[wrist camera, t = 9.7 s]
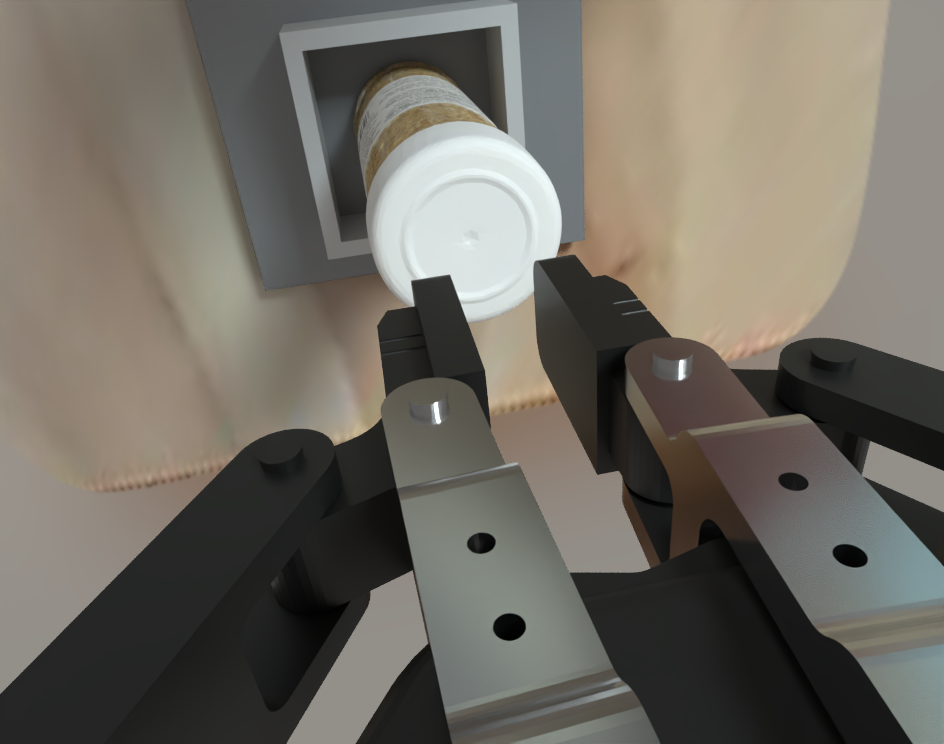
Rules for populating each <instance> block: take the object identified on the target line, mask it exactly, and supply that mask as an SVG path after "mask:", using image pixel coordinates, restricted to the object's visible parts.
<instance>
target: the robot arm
mask: <svg viewBox="0 0 944 744" xmlns="http://www.w3.org/2000/svg"><path fill="white" fill-rule="evenodd" d="M533 281H534V299H535V316H536V334H537V344H538V350H539V355H540V359H541V362H542V365H543V368H544V370H545V372H546V374H547V376H548V378H549V380H550V382H551V384H552V386H553V388H554V390H555V392H556V394H557V396H558V398H559V400H560V402H561V404H562V406H563V407H564V409H565V411H566V413H567V415H568V417H569V419H570V421H571V423H572V425H573V427H574V429H575V431H576V433H577V435H578V437H579V439H580V441H581V443H582V445H583V447H584V449H585V451H586V453H587V455H588V457H589V459H590V461H591V463H592V465H593V467H594V469H595V471H596V473H597V474H598V475H599V474H604V473H608V472H614V471H619V472H620V473H621V475H622V479H623V480H622V481H623V482H622V502H623V505H624V508H625V510H626V513H627V515H628V517H629V519H630V522H631V524H632V526H633V529H634V531H635V533H636V536H637V538H638V540H639V542H640V545H641V547H642V549H643V552H644V554H645V556H646V558H647V561H648V563H649V566H650V569H648V570H646V571H642V572H636V573H569V571H568V569H567V567H566V564H565V562H564V560H563V558H562V556H561V553H560V551H559V549H558V547H557V545H556V543H555V540H554V539H553V536H552V534H551V532H550V530H549V527H548V525H547V523H546V521H545V519H544V517H543V515H542V512H541V510H540V508H539V506H538V504H537V501H536V499H535V497H534V495H533V493H532V491H531V488H530V486H529V484H528V482H527V480H526V478H525V476H524V473H523V471H522V469H521V467H520V466H519V464H518V463H517V462H512V463H508V464H505V461H504V459H503V457H502V454H501V452H500V450H499V448H498V445H497V443H496V441H495V438H494V436H493V434H492V431H491V425H490V415H489V406H488V396H487V386H486V376H485V369H484V367H483V364H482V361H481V358H480V356H479V353H478V350H477V347H476V345H475V342H474V339H473V336H472V334H471V331H470V328H469V325H468V323H467V320H466V317H465V314H464V312H463V309H462V306H461V303H460V301H459V298H458V295H457V292H456V290H455V287H454V284H453V281H452V279H451V276H450V274H449V275H443V276H436V277H430V278H424V279H418V280H411V286H412V293H413V300H414V307H408V308H402V309H396V310H390V311H387V312H386V313H385V315H384V316H383V318H382V319H381V321H380V322H379V324H378V325H377V328H378V336H379V343H380V352H381V360H382V368H383V376H384V384H385V392H386V398H385V399H384V401H383V403H382V406H381V416H382V418H381V419H380V420H379V422H378V423H377V424H375V425H374V426H373V427H372V428H371V429H369V430H368V431H367V432H365V433H363V434H361V435H360V436H358V437H356V438H353V439H351V440H349V441H346V442H344V443H341V444H339V445H336V446H334V445H333V443H332V441H331V440H330V439H329V437H327V436H326V435H324V434H323V433H320V432H318V431H314V430H310V429H290V430H283V431H279V432H275V433H272V434H269V435H267V436H264V437H262V438H260V439H258V440H256V441H254V442H252V443H251V444H250V445H248V446H247V447H245V448H244V449H243V450H242V451H241V452H240V453H239V454H238V455H237V456H236V457H235V458H234V459H233V460H232V461H231V462H230V463H229V464H228V465H227V466H226V467H225V468H224V469H223V470H222V471H221V472H220V473H219V474H218V475H217V476H216V477H215V478H214V479H213V480H212V481H211V482H210V483H209V484H208V485H207V486H206V487H205V488H204V489H203V490H202V491H201V492H200V493H199V494H198V495H197V496H196V497H195V498H194V499H193V500H192V501H191V502H190V503H189V504H188V505H187V506H186V507H185V508H184V509H183V510H182V511H181V512H180V513H179V514H178V515H177V516H176V517H175V518H174V519H173V520H172V521H171V522H170V524H168V526H166V527H165V528H164V529H163V530H162V532H161V533H160V534H159V535H158V536H157V537H156V538H155V539H154V540H153V541H152V542H151V543H150V544H149V545H148V546H147V547H146V548H145V549H144V550H143V551H142V552H141V553H140V554H139V555H138V556H137V557H136V558H135V559H134V560H133V561H132V562H131V563H130V564H129V565H128V566H127V567H126V568H125V569H124V570H123V571H122V572H121V573H120V574H119V575H118V576H117V577H116V578H115V579H114V580H113V581H112V582H111V583H110V584H109V585H108V586H107V587H106V588H105V589H104V590H103V591H102V592H101V593H100V594H99V595H98V596H97V597H96V598H95V599H94V600H93V601H92V602H91V603H90V604H89V605H88V606H87V607H86V608H85V609H84V610H83V611H82V612H81V613H80V614H79V615H78V617H76V618H75V619H74V620H73V622H71V623H70V624H69V626H67V627H66V629H64V630H63V632H62V633H60V635H59V636H58V637H57V638H56V639H55V640H54V641H53V642H52V643H51V644H50V645H49V646H48V647H47V648H46V649H45V650H44V651H43V652H42V653H41V654H40V655H39V656H38V657H37V658H36V659H35V660H34V661H33V662H32V663H31V664H30V665H29V666H28V667H27V668H26V669H25V670H24V671H23V672H22V673H21V674H20V675H19V676H18V677H17V678H16V679H15V680H14V681H13V682H12V683H11V684H10V685H9V686H8V687H7V688H6V689H5V690H4V691H3V692H2V693H1V694H0V744H286V743H287V741H288V740H289V738H290V736H291V735H292V733H293V731H294V730H295V728H296V726H297V725H298V723H299V721H300V720H301V718H302V716H303V715H304V713H305V711H306V710H307V708H308V706H309V704H310V703H311V701H312V700H313V698H314V696H315V695H316V693H317V691H318V690H319V688H320V686H321V685H322V683H323V681H324V680H325V678H326V676H327V674H328V673H329V671H330V670H331V668H332V666H333V664H334V663H335V661H336V659H337V658H338V656H339V654H340V653H341V651H342V649H343V648H344V646H345V644H346V643H347V641H348V639H349V638H350V636H351V634H352V633H353V631H354V629H355V628H356V626H357V624H358V623H359V621H360V619H361V617H362V616H363V614H364V613H365V610H366V609H367V607H368V604H369V601H370V591H371V590H373V589H375V588H377V587H379V586H381V585H383V584H385V583H387V582H389V581H391V580H393V579H395V578H397V577H400V576H401V575H404V574H406V573H408V572H410V571H412V570H413V574H414V579H415V584H416V588H417V593H418V597H419V603H420V607H421V612H422V617H423V622H424V626H425V631H426V636H427V640H428V644H427V645H426V646H425V647H424V648H423V649H422V650H421V651H420V652H419V653H418V654H417V655H416V656H415V657H414V658H413V659H412V660H411V662H410V663H409V664H408V665H407V666H406V668H405V669H404V670H403V671H402V672H401V674H400V675H399V676H398V677H397V679H396V681H395V682H394V683H393V685H392V686H391V688H390V689H389V691H388V693H387V694H386V696H385V697H384V699H383V701H382V702H381V704H380V706H379V707H378V709H377V710H376V712H375V713H374V715H373V717H372V718H371V720H370V721H369V723H368V725H367V726H366V728H365V730H364V731H363V733H362V734H361V736H360V738H359V739H358V741H357V743H356V744H944V512H941V511H939V510H937V509H935V508H933V507H930V506H928V505H926V504H924V503H921V502H919V501H917V500H915V499H912V498H910V497H908V496H905V495H903V494H901V493H899V492H896V491H894V490H892V489H890V488H887V487H885V486H883V485H881V484H878V483H876V482H874V481H871V480H869V479H867V478H865V477H863V476H862V472H863V468H864V464H865V460H866V456H867V452H868V448H869V443H870V441H872V442H874V443H877V444H879V445H882V446H884V447H887V448H889V449H892V450H894V451H897V452H899V453H902V454H904V455H907V456H909V457H911V458H914V459H916V460H919V461H921V462H924V463H926V464H928V465H931V466H934V467H936V468H938V469H941V470H943V471H944V371H941V370H938V369H935V368H931V367H928V366H925V365H922V364H919V363H916V362H913V361H910V360H906V359H903V358H900V357H897V356H894V355H891V354H887V353H884V352H881V351H878V350H875V349H872V348H869V347H866V346H863V345H859V344H856V343H853V342H849V341H845V340H840V339H831V338H811V339H804V340H799V341H796V342H794V343H791V344H789V345H788V346H786V347H785V348H784V349H783V350H782V352H781V353H780V359H779V366H778V370H743V369H730V368H729V367H728V366H727V365H726V363H725V362H724V361H723V360H722V359H721V357H720V356H719V355H718V354H717V353H716V352H715V351H714V350H713V349H711V348H710V347H709V346H706V345H704V344H702V343H700V342H697V341H693V340H689V339H684V338H674V337H671V336H670V334H669V333H668V332H667V331H666V330H665V329H664V327H663V326H662V325H661V324H660V323H659V322H658V321H657V319H656V318H655V317H654V316H653V315H652V314H651V313H650V311H647V308H646V307H645V306H644V304H643V303H642V302H641V301H640V300H638V298H637V296H636V295H635V294H634V293H633V292H632V291H631V290H630V288H629V287H628V286H627V285H626V284H624V283H622V282H619V281H617V280H615V279H613V278H611V277H609V276H606V275H603V276H597V277H592V276H591V274H590V273H589V272H588V271H587V269H586V268H585V267H584V266H583V264H582V263H581V262H580V260H579V259H578V258H577V257H576V256H575V255H568V256H561V257H555V258H549V259H543V260H536V261H535V262H534V266H533Z"/></svg>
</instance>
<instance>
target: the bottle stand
mask: <svg viewBox="0 0 944 744" xmlns="http://www.w3.org/2000/svg"><path fill="white" fill-rule="evenodd" d="M185 1H186V4H187V8H188V11H189V15H190V19H191V22H192V26H193V30H194V33H195V37H196V40H197V44H198V48H199V51H200V55H201V59H202V62H203V66H204V69H205V73H206V77H207V80H208V84H209V88H210V91H211V95H212V98H213V102H214V106H215V109H216V113H217V117H218V120H219V124H220V128H221V131H222V135H223V138H224V142H225V146H226V149H227V153H228V157H229V160H230V164H231V167H232V171H233V175H234V178H235V182H236V186H237V189H238V193H239V196H240V200H241V204H242V207H243V211H244V215H245V218H246V222H247V225H248V229H249V233H250V236H251V240H252V244H253V247H254V251H255V254H256V258H257V262H258V265H259V269H260V273H261V276H262V280H263V283H264V287H265V291H267V290H273V289H279V288H285V287H292V286H298V285H304V284H311V283H317V282H323V281H330V280H336V279H342V278H348V277H355V276H361V275H367V274H374V273H379V271H378V269H377V267H376V264H375V261H374V258H373V254H372V251H371V247H370V242H369V238H368V232H367V225H366V205H367V197H366V192H365V186H364V181H363V175H362V170H361V164H360V157H359V151H358V144H357V141H356V136H355V133H354V126H353V120H354V110H355V107H356V103H357V99H358V96H359V94H360V92H361V90H362V89H363V87H364V86H365V85H366V83H367V82H368V81H369V79H370V78H372V77H373V76H374V75H375V74H376V73H377V72H379V71H380V70H382V69H384V68H386V67H387V66H389V65H390V64H394V63H399V62H405V61H415V62H422V63H425V64H427V65H431V66H435V67H437V68H439V69H440V70H441V71H443V72H444V73H445V74H446V75H447V76H449V77H450V78H451V79H452V80H453V81H454V82H455V83H456V84H457V86H458V88H459V89H460V90H461V91H462V92H463V93H464V94H465V95H466V96H467V97H468V98H469V99H470V100H471V101H472V102H473V103H474V104H475V105H476V106H477V107H478V108H479V109H480V110H481V111H482V112H483V113H484V114H485V115H486V116H487V117H488V118H489V119H490V120H491V121H492V122H493V123H494V124H495V125H496V127H497V129H499V130H501V131H503V132H504V133H506V134H507V135H509V136H510V137H512V138H513V139H515V140H516V141H517V142H518V143H519V144H520V145H522V146H523V147H524V148H525V149H526V150H527V151H528V152H529V153H530V154H531V155H532V157H533V158H534V159H535V160H536V161H537V162H538V164H539V165H540V166H541V167H542V169H543V170H544V171H545V172H546V174H547V175H548V177H549V179H550V181H551V183H552V184H553V186H554V189H555V192H556V194H557V197H558V200H559V204H560V209H561V217H562V230H561V239H560V244H563V243H569V242H575V241H582V240H585V229H584V159H583V90H582V21H581V0H185Z"/></svg>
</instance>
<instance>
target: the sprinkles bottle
mask: <svg viewBox="0 0 944 744" xmlns="http://www.w3.org/2000/svg"><path fill="white" fill-rule="evenodd" d="M353 126H354V133H355V136H356V141H357V144H358V151H359V157H360V164H361V170H362V175H363V181H364V186H365V192H366V197H367V205H366V225H367V232H368V238H369V242H370V247H371V251H372V254H373V258H374V261H375V264H376V267H377V269H378V271H379V273H380V276H381V277H382V279H383V281H384V282H385V284H386V285H387V287H388V288H389V289H390V291H391V292H392V293H393V294H394V295H395V296H396V297H397V298H398V299H399V300H400V301H401V302H403V303H404V304H405V305H406V306H408V307H414V300H413V293H412V286H411V280H418V279H424V278H430V277H436V276H443V275H449V274H450V276H451V279H452V281H453V284H454V287H455V290H456V292H457V295H458V298H459V301H460V303H461V306H462V309H463V312H464V314H465V317H466V320H467V323H474V322H480V321H485V320H489V319H492V318H494V317H497V316H499V315H502V314H504V313H506V312H508V311H510V310H512V309H513V308H515V307H517V306H518V305H519V304H521V303H522V302H524V301H525V300H526V299H527V298H528V297H529V296H530V295H531V294H532V293H533V292H534V281H533V266H534V262H535V261H536V260H543V259H549V258H555V257H556V255H557V252H558V249H559V245H560V239H561V230H562V217H561V209H560V204H559V200H558V197H557V194H556V192H555V189H554V186H553V184H552V183H551V181H550V179H549V177H548V175H547V174H546V172H545V171H544V170H543V169H542V167H541V166H540V165H539V164H538V162H537V161H536V160H535V159H534V158H533V157H532V155H531V154H530V153H529V152H528V151H527V150H526V149H525V148H524V147H523V146H522V145H520V144H519V143H518V142H517V141H516V140H515V139H513V138H512V137H510V136H509V135H507V134H506V133H504V132H503V131H501V130H499V129H497V127H496V125H495V124H494V123H493V122H492V121H491V120H490V119H489V118H488V117H487V116H486V115H485V114H484V113H483V112H482V111H481V110H480V109H479V108H478V107H477V106H476V105H475V104H474V103H473V102H472V101H471V100H470V99H469V98H468V97H467V96H466V95H465V94H464V93H463V92H462V91H461V90H460V89H459V88H458V86H457V84H456V83H455V82H454V81H453V80H452V79H451V78H450V77H449V76H447V75H446V74H445V73H444V72H443V71H441V70H440V69H439V68H437V67H435V66H431V65H427V64H425V63H422V62H415V61H405V62H399V63H394V64H390V65H389V66H387V67H386V68H384V69H382V70H380V71H379V72H377V73H376V74H375V75H374V76H373V77H372V78H370V79H369V81H368V82H367V83H366V85H365V86H364V87H363V89H362V90H361V92H360V94H359V96H358V99H357V103H356V107H355V110H354V120H353Z"/></svg>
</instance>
